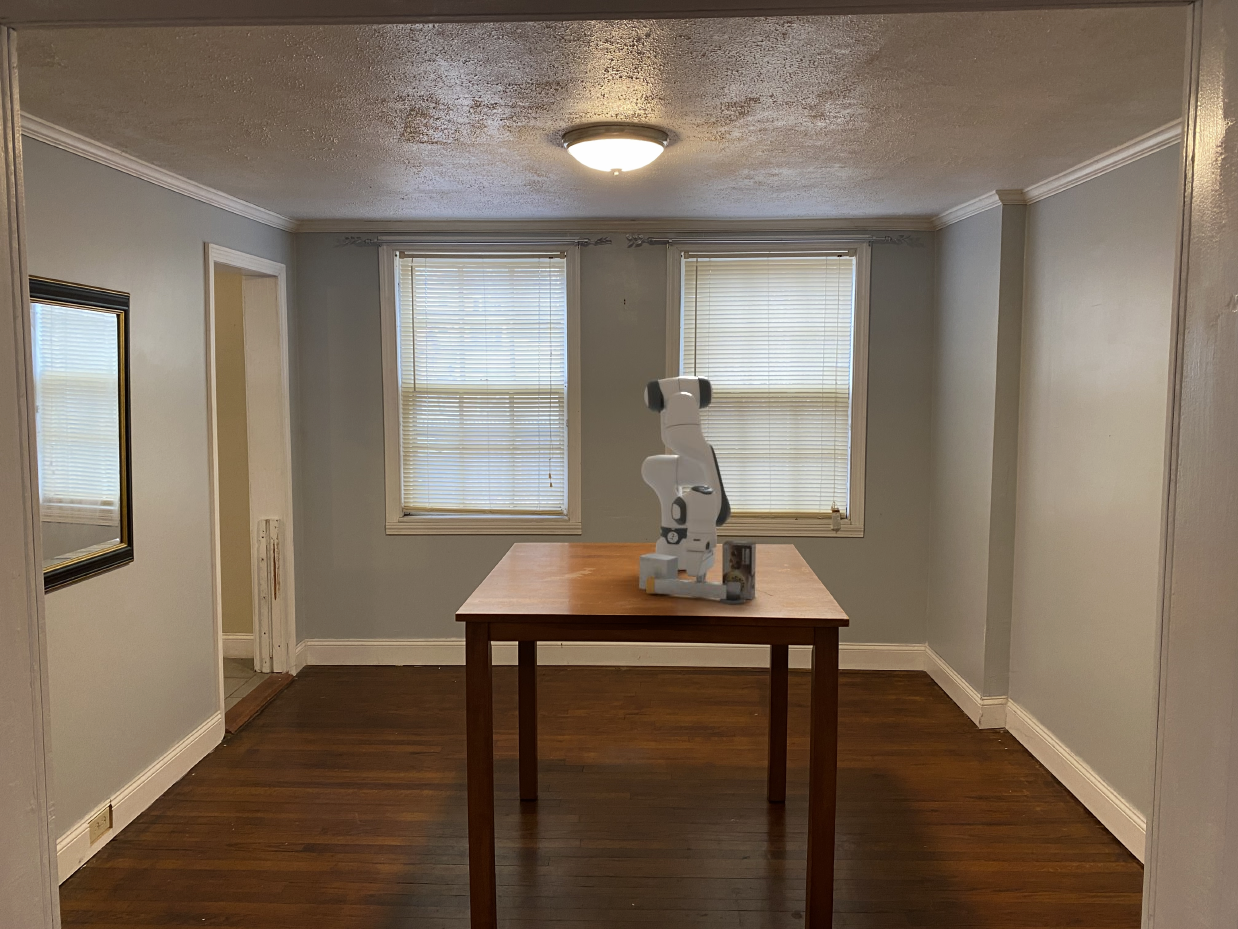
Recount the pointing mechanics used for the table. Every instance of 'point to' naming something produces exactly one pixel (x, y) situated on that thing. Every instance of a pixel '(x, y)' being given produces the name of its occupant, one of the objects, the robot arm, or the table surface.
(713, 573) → the table surface
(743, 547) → the coffee box
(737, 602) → the hinge base
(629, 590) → the table surface
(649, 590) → the grey long bar
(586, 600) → the table surface
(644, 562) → the skincare box
